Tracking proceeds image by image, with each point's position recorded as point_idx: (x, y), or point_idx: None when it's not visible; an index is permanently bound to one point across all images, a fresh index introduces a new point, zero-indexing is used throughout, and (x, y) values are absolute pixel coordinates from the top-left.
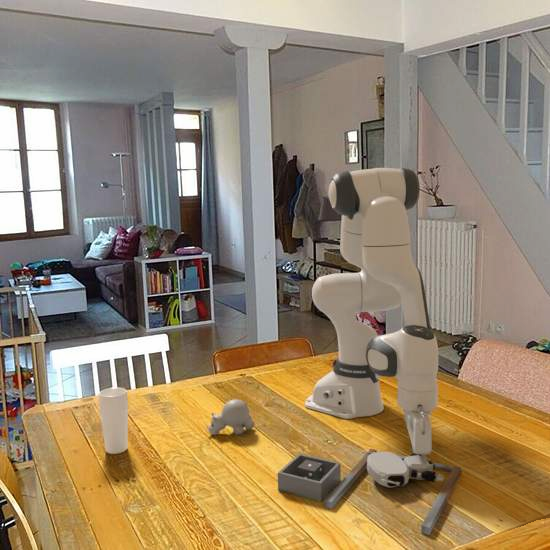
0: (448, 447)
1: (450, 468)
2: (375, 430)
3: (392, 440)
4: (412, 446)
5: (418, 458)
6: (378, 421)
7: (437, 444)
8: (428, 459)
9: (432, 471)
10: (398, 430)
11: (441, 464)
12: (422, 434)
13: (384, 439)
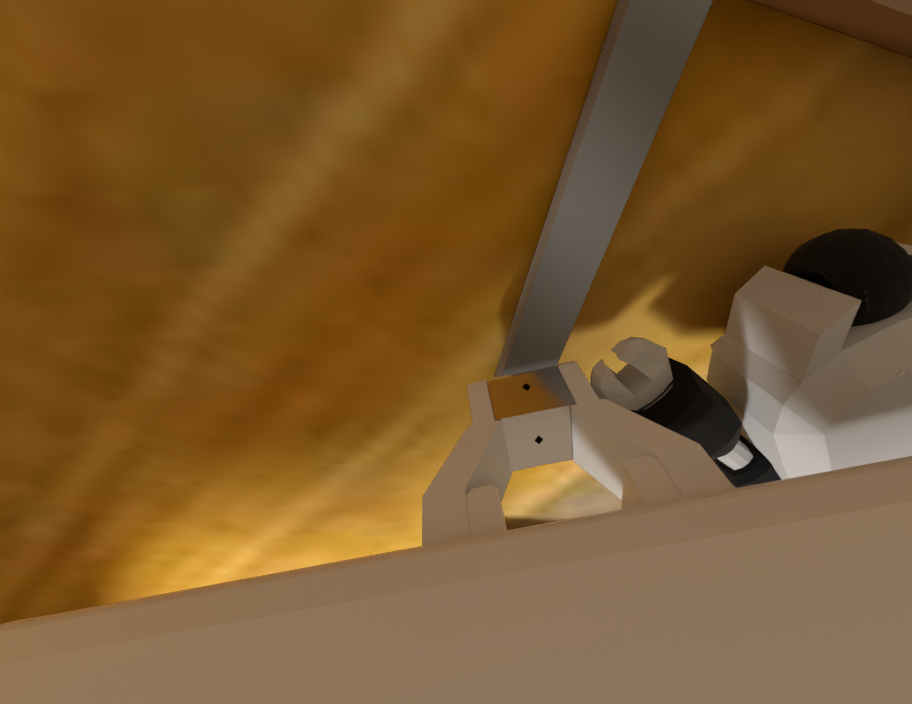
0: (40, 78)
1: (686, 34)
2: (149, 585)
3: (229, 510)
4: (510, 469)
5: (894, 424)
6: (3, 595)
7: (58, 219)
8: (845, 324)
9: (904, 245)
10: (37, 507)
11: (587, 153)
12: (516, 531)
13: (243, 540)
